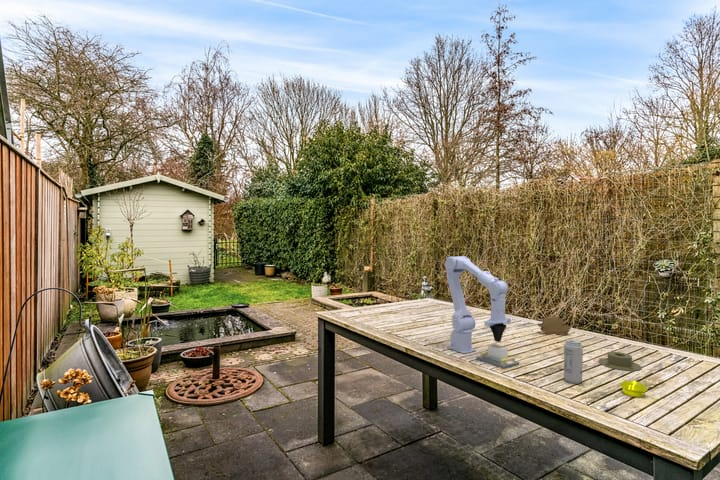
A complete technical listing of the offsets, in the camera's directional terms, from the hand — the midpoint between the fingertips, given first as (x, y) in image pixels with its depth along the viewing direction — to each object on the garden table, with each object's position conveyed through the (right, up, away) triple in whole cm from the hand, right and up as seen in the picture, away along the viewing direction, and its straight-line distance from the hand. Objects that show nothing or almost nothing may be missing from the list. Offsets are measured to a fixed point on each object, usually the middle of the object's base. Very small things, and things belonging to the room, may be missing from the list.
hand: (497, 341), depth 166 cm
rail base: (0, -9, 0) cm, 9 cm away
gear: (+35, -10, -32) cm, 49 cm away
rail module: (0, -7, 0) cm, 7 cm away
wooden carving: (+47, -9, +46) cm, 66 cm away
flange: (+50, -10, -3) cm, 51 cm away
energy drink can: (+21, -10, -21) cm, 31 cm away
